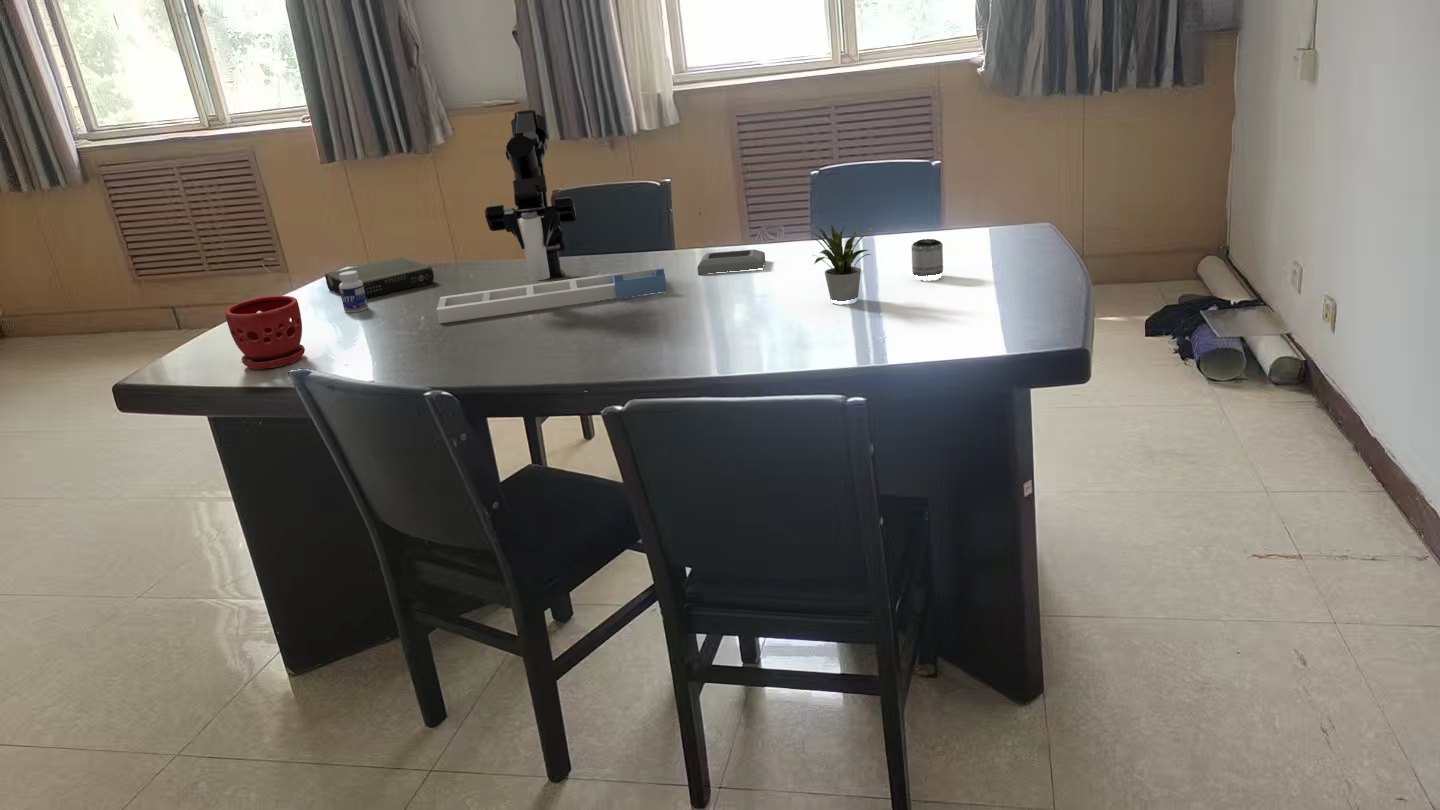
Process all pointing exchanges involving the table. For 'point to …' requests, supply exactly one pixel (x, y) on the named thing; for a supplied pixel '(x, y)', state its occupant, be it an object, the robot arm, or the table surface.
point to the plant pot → (267, 331)
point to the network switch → (386, 276)
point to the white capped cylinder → (534, 246)
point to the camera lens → (927, 257)
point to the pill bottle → (352, 292)
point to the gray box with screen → (731, 261)
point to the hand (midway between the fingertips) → (533, 246)
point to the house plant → (841, 266)
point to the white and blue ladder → (550, 294)
